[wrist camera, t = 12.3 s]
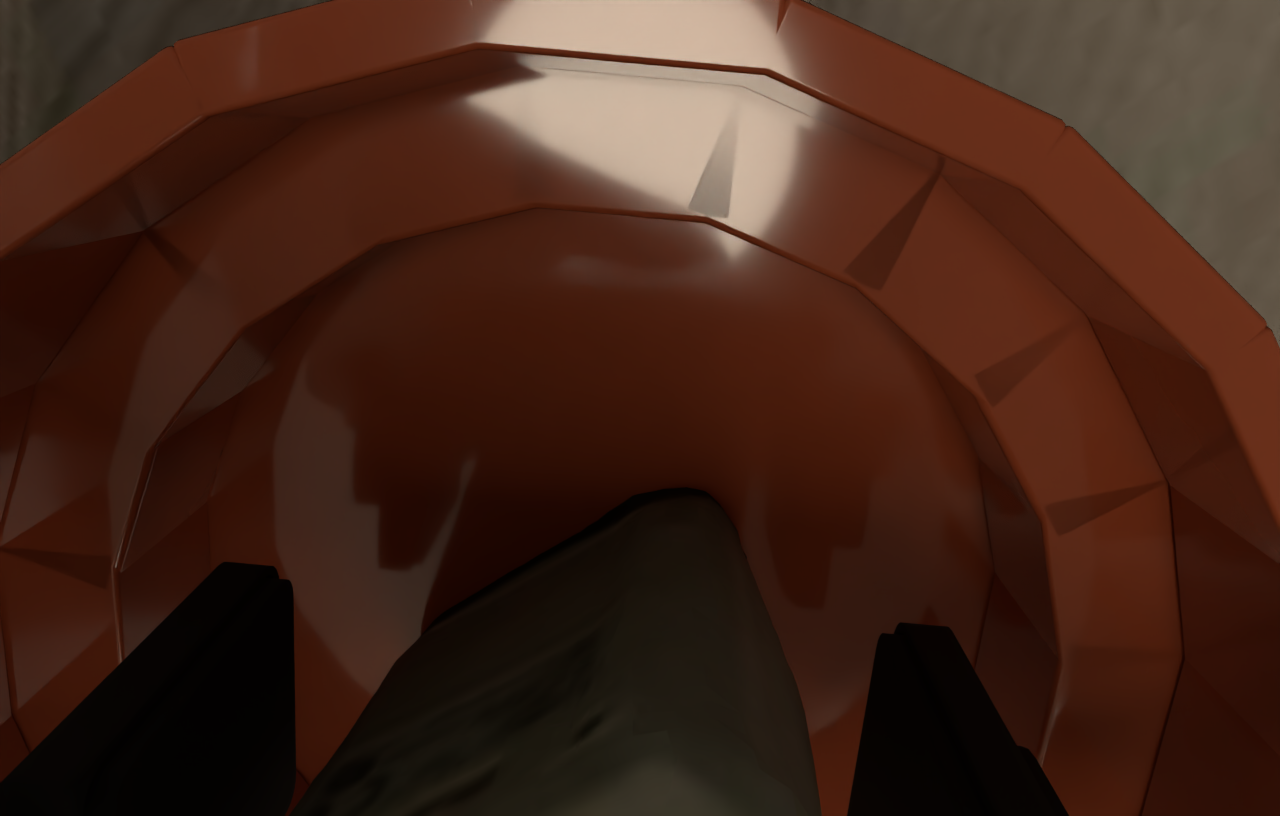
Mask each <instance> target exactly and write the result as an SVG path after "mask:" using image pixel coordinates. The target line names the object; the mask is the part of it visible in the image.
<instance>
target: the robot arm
mask: <svg viewBox="0 0 1280 816" xmlns="http://www.w3.org/2000/svg"><path fill="white" fill-rule="evenodd" d="M295 783H296V727H295V662H294V597H293V586H292V583H291V581H290V580H287V579H279V575H278V572H277V569H276V568H275V567H274V566H269V565H257V564H246V563H235V562H223V563H221V564H220V565H218V566H217V567H216V568H215V569H214V570H213V571H212V572H211V573H210V574H209V575H208V576H207V577H206V578H205V579H204V580H203V581H202V582H201V583H200V584H199V585H198V586H197V587H196V588H195V589H194V590H193V591H192V592H191V593H190V594H189V595H188V596H187V597H186V598H185V599H184V600H183V601H182V602H181V603H180V604H179V605H178V606H177V607H176V608H175V609H174V610H173V611H172V612H171V613H170V614H169V615H168V616H167V617H166V618H165V619H164V620H163V621H162V622H161V623H160V624H159V625H158V626H157V627H156V628H155V629H154V630H153V631H152V632H151V633H150V634H149V635H148V636H147V637H146V638H145V639H144V640H143V641H142V642H141V643H140V644H139V645H138V646H137V647H136V648H135V649H134V650H133V651H132V652H131V653H130V654H129V655H128V656H127V657H126V658H125V659H124V660H123V661H122V662H121V663H120V664H119V665H118V666H117V667H116V668H115V669H114V670H113V671H112V672H111V673H110V674H109V675H108V676H107V677H106V678H105V679H104V680H103V681H102V682H101V683H100V684H99V685H98V686H97V687H96V688H95V689H94V690H93V691H92V692H91V693H90V694H89V695H88V696H87V697H86V698H85V699H84V700H83V701H82V702H81V703H80V704H79V705H78V706H77V707H76V708H75V709H74V710H73V711H72V712H71V713H70V714H69V715H68V716H67V717H66V718H65V719H64V720H63V721H62V722H61V723H60V724H59V725H58V726H57V727H56V728H55V729H54V730H53V731H52V732H51V733H50V734H49V735H48V736H47V737H46V738H45V739H44V740H43V741H42V742H41V743H40V744H39V745H38V746H37V747H36V748H35V749H34V750H33V751H32V752H31V753H30V754H29V755H28V756H27V757H26V758H25V759H24V760H23V761H22V762H21V763H20V764H19V765H18V766H17V767H16V768H15V769H14V770H13V771H12V772H11V773H10V774H9V775H8V776H7V777H6V778H5V779H4V780H3V781H2V782H1V783H0V816H285V814H286V813H287V811H288V808H289V806H290V804H291V801H292V798H293V794H294V789H295ZM847 816H1069V814H1068V813H1067V811H1066V809H1065V807H1064V806H1063V804H1062V802H1061V801H1060V799H1059V797H1058V795H1057V794H1056V792H1055V790H1054V789H1053V787H1052V785H1051V783H1050V782H1049V780H1048V778H1047V776H1046V775H1045V773H1044V771H1043V770H1042V768H1041V766H1040V764H1039V763H1038V761H1037V759H1036V758H1035V756H1034V755H1033V754H1032V753H1031V751H1030V750H1029V749H1028V748H1025V747H1023V746H1017V745H1016V743H1015V741H1014V740H1013V738H1012V736H1011V734H1010V732H1009V731H1008V729H1007V727H1006V725H1005V724H1004V722H1003V720H1002V718H1001V716H1000V715H999V713H998V711H997V709H996V708H995V706H994V704H993V702H992V700H991V699H990V697H989V695H988V693H987V692H986V690H985V688H984V686H983V684H982V683H981V681H980V679H979V677H978V676H977V674H976V672H975V670H974V668H973V667H972V665H971V663H970V661H969V660H968V658H967V656H966V654H965V652H964V651H963V649H962V647H961V645H960V644H959V642H958V640H957V638H956V636H955V635H954V633H953V631H952V630H951V629H950V628H949V627H947V626H936V625H925V624H914V623H903V622H900V623H899V624H898V625H897V626H896V629H895V631H894V634H888V633H882V634H881V635H880V636H879V639H878V642H877V646H876V652H875V658H874V663H873V669H872V675H871V681H870V686H869V692H868V698H867V704H866V709H865V715H864V721H863V726H862V732H861V738H860V744H859V749H858V755H857V761H856V767H855V772H854V778H853V784H852V790H851V795H850V801H849V807H848V812H847Z"/></svg>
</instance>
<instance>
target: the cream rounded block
mask: <svg viewBox="0 0 1280 816" xmlns="http://www.w3.org/2000/svg"><path fill="white" fill-rule="evenodd" d="M289 816H822V812H821V805H820V798H819V791H818V786H817V779H816V772H815V765H814V760H813V754H812V749H811V744H810V738H809V733H808V727H807V722H806V716H805V712H804V708H803V705H802V701H801V697H800V694H799V690H798V686H797V683H796V681H795V678H794V675H793V673H792V671H791V669H790V667H789V665H788V662H787V660H786V658H785V655H784V652H783V650H782V647H781V643H780V640H779V637H778V634H777V632H776V631H775V629H774V627H773V625H772V621H771V618H770V616H769V613H768V611H767V609H766V606H765V604H764V602H763V599H762V596H761V594H760V591H759V588H758V586H757V583H756V580H755V578H754V576H753V573H752V571H751V568H750V566H749V564H748V561H747V556H746V555H745V553H744V552H743V550H742V547H741V544H740V539H739V534H738V531H737V529H736V527H735V526H734V524H733V523H732V521H731V520H730V518H729V517H728V515H727V514H726V512H725V511H724V509H723V508H722V507H721V505H720V504H719V503H718V502H717V501H716V500H715V499H714V498H713V497H712V496H711V495H710V494H709V493H707V492H706V491H703V490H698V489H694V488H688V487H683V488H669V489H661V490H657V491H652V492H647V493H641V494H636V495H633V496H631V497H630V498H629V499H627V500H626V501H625V502H623V503H621V504H620V505H618V506H617V507H615V508H614V509H612V510H610V511H609V512H607V513H606V514H605V515H604V516H602V517H601V518H600V519H599V520H597V521H596V522H594V523H592V524H591V525H589V526H587V527H586V528H585V529H583V530H582V531H581V532H579V533H577V534H575V535H573V536H571V537H569V538H568V539H566V540H564V541H563V542H561V543H559V544H558V545H556V546H554V547H552V548H550V549H549V550H547V551H545V552H543V553H541V554H539V555H538V556H536V557H535V558H533V559H531V560H530V561H528V562H527V563H525V564H524V565H522V566H519V567H518V568H516V569H514V570H512V571H510V572H509V573H507V574H506V575H504V576H502V577H501V578H499V579H497V580H496V581H494V582H493V583H491V584H489V585H488V586H486V587H484V588H483V589H481V590H480V591H478V592H477V593H475V594H473V595H471V596H470V597H468V598H466V599H465V600H463V601H461V602H459V603H458V604H456V605H454V606H453V607H451V608H449V609H448V610H446V611H445V612H443V613H442V614H441V615H439V616H438V617H437V618H436V619H435V620H434V621H433V622H432V623H431V624H430V626H429V627H428V628H427V629H426V630H425V631H424V633H423V634H422V635H421V636H420V637H419V638H418V640H417V641H416V642H415V643H414V644H413V645H411V646H410V647H409V648H408V649H407V650H406V651H405V652H404V653H403V654H402V655H401V656H400V657H399V658H398V659H397V660H396V661H395V663H394V664H393V666H392V667H391V669H390V671H389V672H388V674H387V675H386V677H385V678H384V680H383V681H382V683H381V685H380V686H379V688H378V690H377V691H376V693H375V694H374V695H373V697H372V698H371V700H370V701H369V703H368V704H367V706H366V707H365V709H364V710H363V712H362V713H361V715H360V716H359V718H358V720H357V721H356V723H355V724H354V726H353V727H352V729H351V730H350V732H349V733H348V735H347V737H346V738H345V739H344V741H343V742H342V744H341V745H340V746H339V748H338V749H337V751H336V752H335V753H334V755H333V756H332V758H331V759H330V760H329V762H328V763H327V765H326V766H325V767H324V768H323V769H322V771H321V772H320V773H319V774H318V775H317V777H316V778H315V779H314V780H313V781H312V783H311V785H310V786H309V788H308V789H307V791H306V792H305V794H304V795H303V797H302V798H301V799H300V801H299V802H298V804H297V805H296V806H295V808H294V809H293V811H292V812H291V813H290V815H289Z"/></svg>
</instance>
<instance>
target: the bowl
mask: <svg viewBox="0 0 1280 816" xmlns="http://www.w3.org/2000/svg"><path fill="white" fill-rule="evenodd" d="M1065 125H1066V124H1065V123H1064V122H1063V120H1062V119H1060V118H1057V117H1055V116H1053V115H1051V114H1049V113H1047V112H1044V111H1042V110H1040V109H1038V108H1036V107H1034V106H1031V105H1029V104H1027V103H1025V102H1023V101H1021V100H1018V99H1016V98H1014V97H1012V96H1010V95H1008V94H1005V93H1003V92H1001V91H999V90H997V89H994V88H992V87H990V86H988V85H986V84H984V83H981V82H979V81H977V80H975V79H973V78H971V77H968V76H966V75H964V74H962V73H960V72H958V71H955V70H953V69H951V68H949V67H947V66H945V65H942V64H940V63H938V62H936V61H934V60H932V59H929V58H927V57H925V56H923V55H921V54H918V53H916V52H914V51H912V50H910V49H908V48H905V47H903V46H901V45H899V44H897V43H895V42H892V41H890V40H888V39H886V38H884V37H882V36H879V35H877V34H875V33H873V32H871V31H869V30H866V29H864V28H862V27H860V26H858V25H856V24H853V23H851V22H849V21H847V20H845V19H842V18H840V17H838V16H836V15H834V14H832V13H829V12H827V11H825V10H823V9H821V8H819V7H816V6H814V5H812V4H810V3H808V2H806V1H803V0H330V1H326V2H322V3H318V4H315V5H311V6H307V7H303V8H299V9H295V10H291V11H288V12H284V13H280V14H276V15H272V16H268V17H264V18H261V19H257V20H253V21H249V22H245V23H241V24H238V25H234V26H230V27H226V28H222V29H218V30H214V31H211V32H207V33H203V34H199V35H195V36H191V37H188V38H184V39H180V40H178V41H177V42H175V43H174V46H169V47H165V48H164V49H162V50H161V51H159V52H158V53H156V54H155V55H154V56H152V57H151V58H149V59H148V60H147V61H145V62H144V63H142V64H141V65H140V66H138V67H137V68H135V69H134V70H132V71H131V72H130V73H128V74H127V75H125V76H124V77H123V78H121V79H120V80H118V81H117V82H116V83H114V84H113V85H111V86H110V87H108V88H107V89H106V90H104V91H103V92H101V93H100V94H99V95H97V96H96V97H94V98H93V99H92V100H90V101H89V102H87V103H86V104H84V105H83V106H82V107H80V108H79V109H77V110H76V111H75V112H73V113H72V114H70V115H69V116H68V117H66V118H65V119H63V120H62V121H60V122H59V123H58V124H56V125H55V126H53V127H52V128H51V129H49V130H48V131H46V132H45V133H44V134H42V135H41V136H39V137H38V138H36V139H35V140H34V141H32V142H31V143H29V144H28V145H27V146H25V147H24V148H22V149H21V150H20V151H18V152H17V153H15V154H14V155H12V156H11V157H10V158H8V159H7V160H5V161H4V162H3V163H1V164H0V783H1V782H2V781H3V780H4V779H5V778H6V777H7V776H8V775H9V774H10V773H11V772H12V771H13V770H14V769H15V768H16V767H17V766H18V765H19V764H20V763H21V762H22V761H23V760H24V759H25V758H26V757H27V756H28V755H29V754H30V753H31V752H32V751H33V750H34V749H35V748H36V747H37V746H38V745H39V744H40V743H41V742H42V741H43V740H44V739H45V738H46V737H47V736H48V735H49V734H50V733H51V732H52V731H53V730H54V729H55V728H56V727H57V726H58V725H59V724H60V723H61V722H62V721H63V720H64V719H65V718H66V717H67V716H68V715H69V714H70V713H71V712H72V711H73V710H74V709H75V708H76V707H77V706H78V705H79V704H80V703H81V702H82V701H83V700H84V699H85V698H86V697H87V696H88V695H89V694H90V693H91V692H92V691H93V690H94V689H95V688H96V687H97V686H98V685H99V684H100V683H101V682H102V681H103V680H104V679H105V678H106V677H107V676H108V675H109V674H110V673H111V672H112V671H113V670H114V669H115V668H116V667H117V666H118V665H119V664H120V663H121V662H122V661H123V660H124V659H125V658H126V657H127V656H128V655H129V654H130V653H131V652H132V651H133V650H134V649H135V648H136V647H137V646H138V645H139V644H140V643H141V642H142V641H143V640H144V639H145V638H146V637H147V636H148V635H149V634H150V633H151V632H152V631H153V630H154V629H155V628H156V627H157V626H158V625H159V624H160V623H161V622H162V621H163V620H164V619H165V618H166V617H167V616H168V615H169V614H170V613H171V612H172V611H173V610H174V609H175V608H176V607H177V606H178V605H179V604H180V603H181V602H182V601H183V600H184V599H185V598H186V597H187V596H188V595H189V594H190V593H191V592H192V591H193V590H194V589H195V588H196V587H197V586H198V585H199V584H200V583H201V582H202V581H203V580H204V579H205V578H206V577H207V576H208V575H209V574H210V573H211V572H212V571H213V570H214V569H215V568H216V567H217V566H218V565H220V564H221V563H223V562H235V563H246V564H257V565H269V566H274V567H275V568H276V569H277V572H278V575H279V579H287V580H290V581H291V583H292V586H293V597H294V662H295V727H296V783H295V789H294V794H293V798H292V801H291V804H290V806H289V808H288V811H287V813H286V814H285V816H289V815H290V813H291V812H292V811H293V809H294V808H295V806H296V805H297V804H298V802H299V801H300V799H301V798H302V797H303V795H304V794H305V792H306V791H307V789H308V788H309V786H310V785H311V783H312V781H313V780H314V779H315V778H316V777H317V775H318V774H319V773H320V772H321V771H322V769H323V768H324V767H325V766H326V765H327V763H328V762H329V760H330V759H331V758H332V756H333V755H334V753H335V752H336V751H337V749H338V748H339V746H340V745H341V744H342V742H343V741H344V739H345V738H346V737H347V735H348V733H349V732H350V730H351V729H352V727H353V726H354V724H355V723H356V721H357V720H358V718H359V716H360V715H361V713H362V712H363V710H364V709H365V707H366V706H367V704H368V703H369V701H370V700H371V698H372V697H373V695H374V694H375V693H376V691H377V690H378V688H379V686H380V685H381V683H382V681H383V680H384V678H385V677H386V675H387V674H388V672H389V671H390V669H391V667H392V666H393V664H394V663H395V661H396V660H397V659H398V658H399V657H400V656H401V655H402V654H403V653H404V652H405V651H406V650H407V649H408V648H409V647H410V646H411V645H413V644H414V643H415V642H416V641H417V640H418V638H419V637H420V636H421V635H422V634H423V633H424V631H425V630H426V629H427V628H428V627H429V626H430V624H431V623H432V622H433V621H434V620H435V619H436V618H437V617H438V616H439V615H441V614H442V613H443V612H445V611H446V610H448V609H449V608H451V607H453V606H454V605H456V604H458V603H459V602H461V601H463V600H465V599H466V598H468V597H470V596H471V595H473V594H475V593H477V592H478V591H480V590H481V589H483V588H484V587H486V586H488V585H489V584H491V583H493V582H494V581H496V580H497V579H499V578H501V577H502V576H504V575H506V574H507V573H509V572H510V571H512V570H514V569H516V568H518V567H519V566H522V565H524V564H525V563H527V562H528V561H530V560H531V559H533V558H535V557H536V556H538V555H539V554H541V553H543V552H545V551H547V550H549V549H550V548H552V547H554V546H556V545H558V544H559V543H561V542H563V541H564V540H566V539H568V538H569V537H571V536H573V535H575V534H577V533H579V532H581V531H582V530H583V529H585V528H586V527H587V526H589V525H591V524H592V523H594V522H596V521H597V520H599V519H600V518H601V517H602V516H604V515H605V514H606V513H607V512H609V511H610V510H612V509H614V508H615V507H617V506H618V505H620V504H621V503H623V502H625V501H626V500H627V499H629V498H630V497H631V496H633V495H636V494H641V493H647V492H652V491H657V490H661V489H669V488H683V487H688V488H694V489H698V490H703V491H706V492H707V493H709V494H710V495H711V496H712V497H713V498H714V499H715V500H716V501H717V502H718V503H719V504H720V505H721V507H722V508H723V509H724V511H725V512H726V514H727V515H728V517H729V518H730V520H731V521H732V523H733V524H734V526H735V527H736V529H737V531H738V534H739V539H740V544H741V547H742V550H743V552H744V553H745V555H746V556H747V561H748V564H749V566H750V568H751V571H752V573H753V576H754V578H755V580H756V583H757V586H758V588H759V591H760V594H761V596H762V599H763V602H764V604H765V606H766V609H767V611H768V613H769V616H770V618H771V621H772V625H773V627H774V629H775V631H776V632H777V634H778V637H779V640H780V643H781V647H782V650H783V652H784V655H785V658H786V660H787V662H788V665H789V667H790V669H791V671H792V673H793V675H794V678H795V681H796V683H797V686H798V690H799V694H800V697H801V701H802V705H803V708H804V712H805V716H806V722H807V727H808V733H809V738H810V744H811V749H812V754H813V760H814V765H815V772H816V779H817V786H818V791H819V798H820V805H821V812H822V816H847V812H848V807H849V801H850V795H851V790H852V784H853V778H854V772H855V767H856V761H857V755H858V749H859V744H860V738H861V732H862V726H863V721H864V715H865V709H866V704H867V698H868V692H869V686H870V681H871V675H872V669H873V663H874V658H875V652H876V646H877V642H878V639H879V636H880V635H881V634H882V633H888V634H894V631H895V629H896V626H897V625H898V624H899V623H900V622H903V623H914V624H925V625H936V626H947V627H949V628H950V629H951V630H952V631H953V633H954V635H955V636H956V638H957V640H958V642H959V644H960V645H961V647H962V649H963V651H964V652H965V654H966V656H967V658H968V660H969V661H970V663H971V665H972V667H973V668H974V670H975V672H976V674H977V676H978V677H979V679H980V681H981V683H982V684H983V686H984V688H985V690H986V692H987V693H988V695H989V697H990V699H991V700H992V702H993V704H994V706H995V708H996V709H997V711H998V713H999V715H1000V716H1001V718H1002V720H1003V722H1004V724H1005V725H1006V727H1007V729H1008V731H1009V732H1010V734H1011V736H1012V738H1013V740H1014V741H1015V743H1016V745H1017V746H1023V747H1025V748H1028V749H1029V750H1030V751H1031V753H1032V754H1033V755H1034V756H1035V758H1036V759H1037V761H1038V763H1039V764H1040V766H1041V768H1042V770H1043V771H1044V773H1045V775H1046V776H1047V778H1048V780H1049V782H1050V783H1051V785H1052V787H1053V789H1054V790H1055V792H1056V794H1057V795H1058V797H1059V799H1060V801H1061V802H1062V804H1063V806H1064V807H1065V809H1066V811H1067V813H1068V814H1069V816H1280V348H1279V346H1278V343H1277V341H1276V339H1275V336H1274V334H1273V332H1272V330H1271V329H1270V328H1269V327H1268V326H1267V323H1266V321H1265V319H1264V318H1263V317H1262V316H1261V315H1260V314H1259V313H1258V312H1257V311H1256V310H1255V309H1254V308H1253V307H1252V306H1251V305H1250V304H1249V303H1248V302H1247V301H1246V300H1245V299H1244V298H1243V297H1242V296H1241V295H1240V294H1239V293H1238V292H1237V291H1236V290H1235V289H1234V288H1233V287H1232V286H1231V285H1230V284H1229V283H1228V282H1227V281H1226V280H1225V279H1224V278H1223V277H1222V276H1221V275H1220V274H1219V273H1218V272H1217V271H1216V270H1215V269H1214V268H1213V267H1212V266H1211V265H1210V264H1209V263H1208V262H1207V261H1206V260H1205V259H1204V258H1203V257H1202V256H1201V255H1200V254H1199V253H1198V252H1197V251H1196V250H1195V249H1194V248H1193V247H1192V246H1191V245H1190V244H1189V243H1188V242H1187V241H1186V240H1185V239H1184V238H1183V237H1182V236H1181V235H1180V234H1179V233H1178V232H1177V231H1176V230H1175V229H1174V228H1173V227H1172V226H1171V225H1170V224H1169V223H1168V222H1167V221H1166V220H1165V219H1164V218H1163V217H1162V216H1161V215H1160V214H1159V213H1158V212H1157V211H1156V210H1155V209H1154V208H1153V207H1152V206H1151V205H1150V204H1149V203H1148V202H1147V201H1146V200H1145V199H1144V198H1143V197H1142V196H1141V195H1140V194H1139V193H1138V192H1137V191H1136V190H1135V189H1134V188H1133V187H1132V186H1131V185H1130V184H1129V183H1128V182H1127V181H1126V180H1125V179H1124V178H1123V177H1122V176H1121V175H1120V174H1119V173H1118V172H1117V171H1116V170H1115V169H1114V168H1113V167H1112V166H1111V165H1110V164H1109V163H1108V162H1107V161H1106V160H1105V159H1104V158H1103V157H1102V156H1101V155H1100V154H1099V153H1098V152H1097V151H1096V150H1095V149H1094V148H1093V147H1092V146H1091V145H1090V144H1089V143H1088V142H1087V141H1086V140H1085V139H1084V138H1083V137H1082V136H1081V135H1080V134H1079V133H1078V132H1077V131H1076V130H1075V129H1074V128H1073V127H1070V126H1065Z"/></svg>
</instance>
